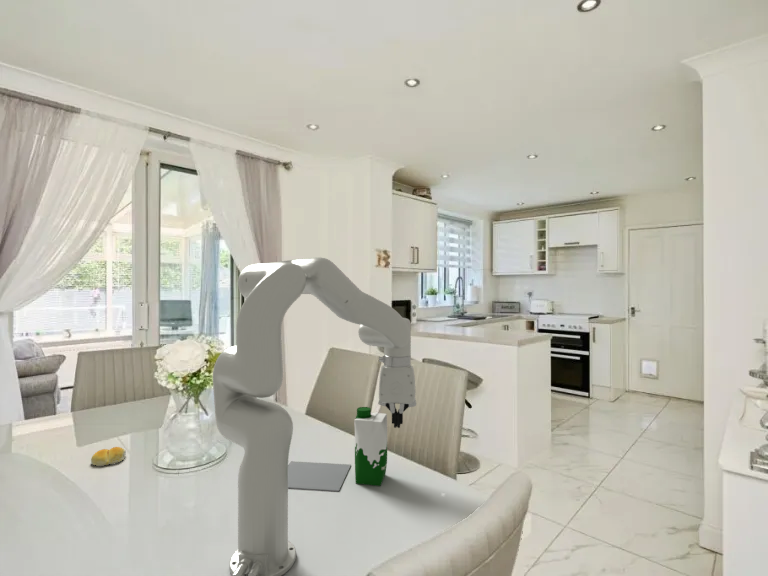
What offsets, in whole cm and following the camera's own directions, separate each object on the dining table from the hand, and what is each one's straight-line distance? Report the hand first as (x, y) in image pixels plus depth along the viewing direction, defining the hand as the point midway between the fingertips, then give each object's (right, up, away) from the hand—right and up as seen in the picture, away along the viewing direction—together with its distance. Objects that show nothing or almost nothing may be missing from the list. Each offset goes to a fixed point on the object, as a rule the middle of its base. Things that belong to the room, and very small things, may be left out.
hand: (397, 426), depth 114 cm
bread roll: (-90, -16, +13) cm, 93 cm away
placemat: (-24, -16, +3) cm, 29 cm away
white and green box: (-7, -16, +1) cm, 17 cm away
